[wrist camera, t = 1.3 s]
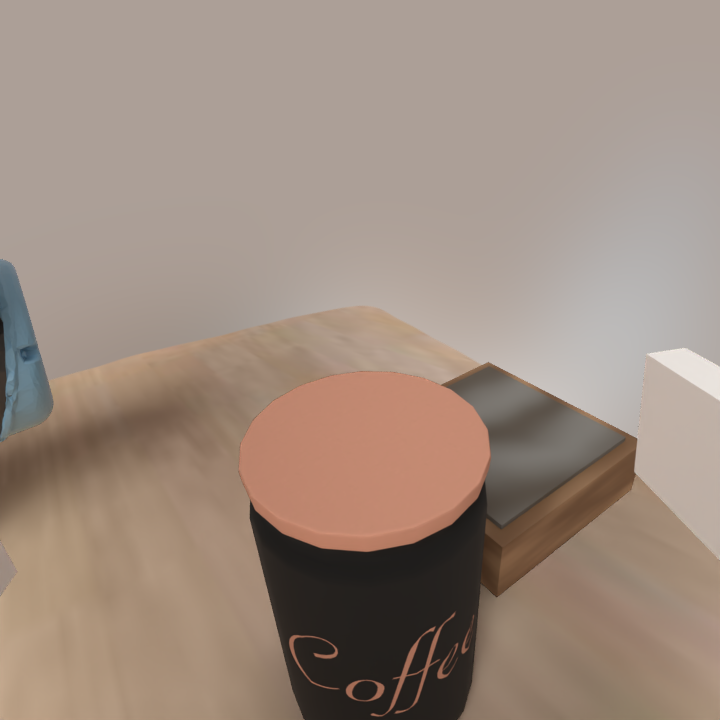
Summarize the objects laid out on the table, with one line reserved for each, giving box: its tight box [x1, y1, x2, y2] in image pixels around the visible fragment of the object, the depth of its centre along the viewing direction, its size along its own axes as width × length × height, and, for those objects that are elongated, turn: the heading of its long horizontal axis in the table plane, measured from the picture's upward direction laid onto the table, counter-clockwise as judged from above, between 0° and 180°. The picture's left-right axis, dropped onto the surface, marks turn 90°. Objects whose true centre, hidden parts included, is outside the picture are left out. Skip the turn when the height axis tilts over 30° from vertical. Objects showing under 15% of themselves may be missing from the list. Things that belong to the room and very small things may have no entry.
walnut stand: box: [441, 362, 637, 597], centre depth 42 cm, size 16×16×5 cm
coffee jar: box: [239, 371, 491, 720], centre depth 26 cm, size 11×11×18 cm
